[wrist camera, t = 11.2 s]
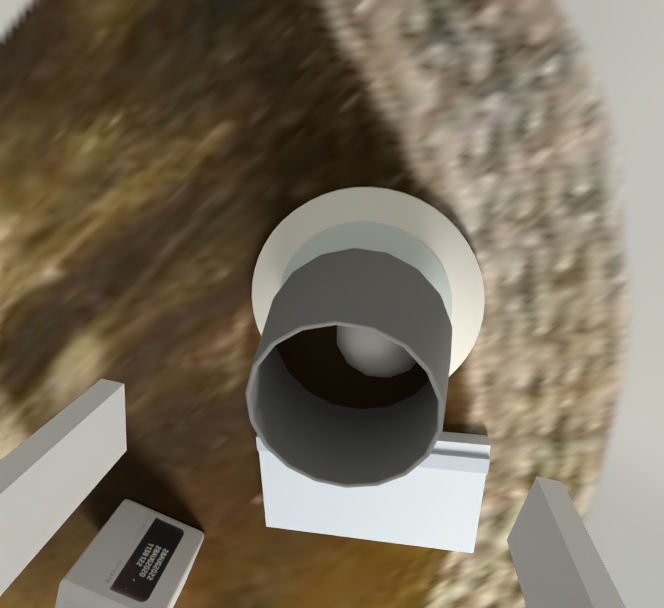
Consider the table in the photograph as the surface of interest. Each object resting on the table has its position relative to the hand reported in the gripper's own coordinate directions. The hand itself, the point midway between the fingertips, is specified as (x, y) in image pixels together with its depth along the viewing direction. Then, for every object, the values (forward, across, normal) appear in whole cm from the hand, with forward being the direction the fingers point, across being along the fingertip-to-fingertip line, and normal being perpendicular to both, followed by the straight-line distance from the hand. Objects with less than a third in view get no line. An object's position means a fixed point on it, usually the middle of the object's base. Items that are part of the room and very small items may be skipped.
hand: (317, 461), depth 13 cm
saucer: (+14, +1, 0) cm, 14 cm away
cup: (+13, +1, 0) cm, 13 cm away
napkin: (+14, +4, -14) cm, 20 cm away
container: (+14, -13, -27) cm, 33 cm away
